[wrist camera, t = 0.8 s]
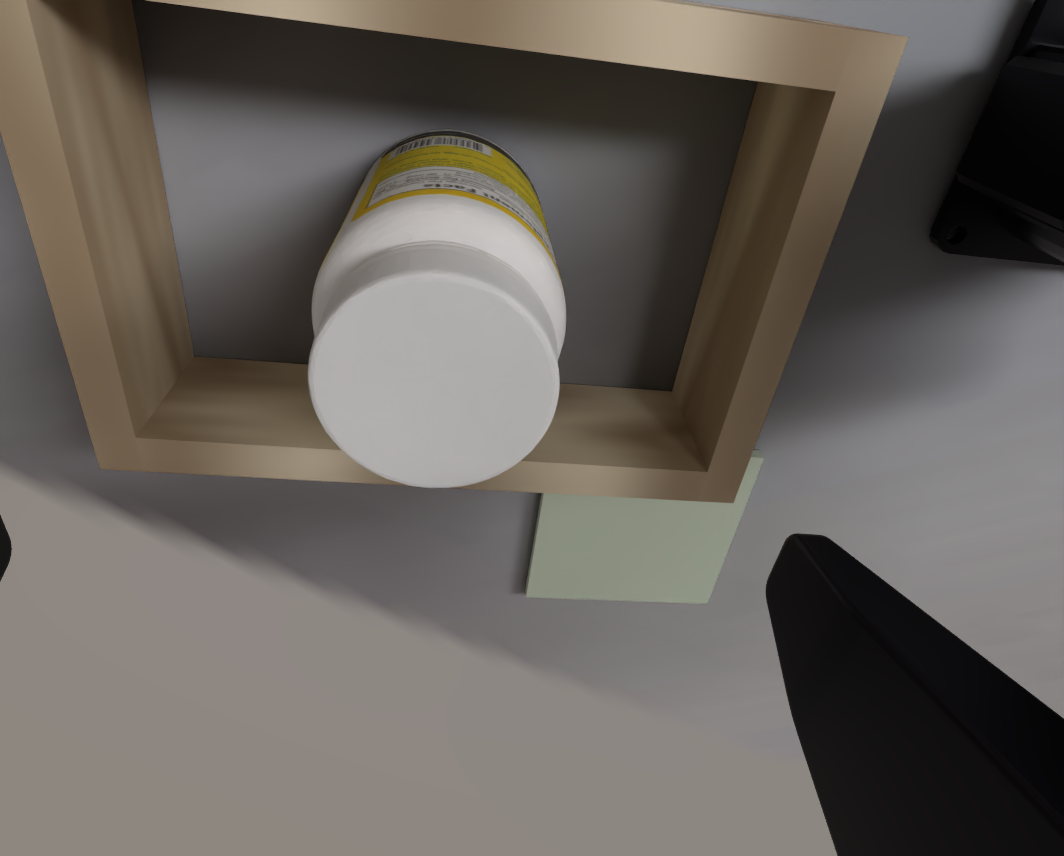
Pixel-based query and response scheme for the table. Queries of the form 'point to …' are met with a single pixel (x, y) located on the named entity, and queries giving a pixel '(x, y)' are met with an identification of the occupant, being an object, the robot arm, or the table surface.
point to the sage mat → (633, 546)
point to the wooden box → (282, 388)
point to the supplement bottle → (439, 316)
